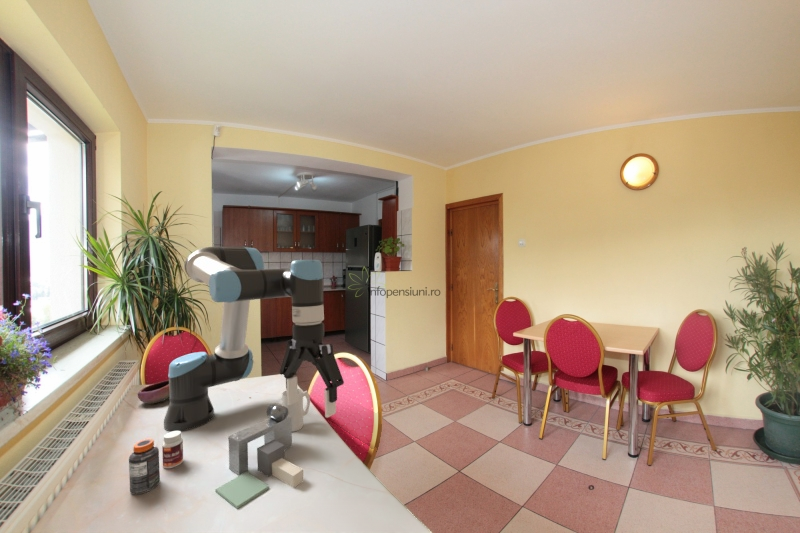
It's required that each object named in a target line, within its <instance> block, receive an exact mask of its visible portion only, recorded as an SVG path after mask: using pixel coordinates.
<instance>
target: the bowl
mask: <svg viewBox="0 0 800 533" xmlns="http://www.w3.org/2000/svg"><path fill="white" fill-rule="evenodd" d="M137 397H138V400H139V401H141V402H142V403H144V404H151V403H152V404H156V403H157V402H158V403H160V402H164V401H166V400H167V399H168V398H170V397H169V379H166V380H163V381H159V382H155V383H152V384H149V385H147V386H145V387H143V388H142V389H140V390H139V391H138V393H137ZM163 400H164V401H163Z"/></svg>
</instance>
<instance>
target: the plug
mask: <svg viewBox="0 0 800 533" xmlns="http://www.w3.org/2000/svg"><path fill="white" fill-rule="evenodd" d="M256 451H257V452H256V453H257V456H256V458H257V462H256V463H257V471H258V472H260V473H261V474H263V475H265V477H268V478H269V477H271V476H273V477H274V478H276V479H278V480H279V481H282V482H283V483H285V484H287V485H288V486H289V487H291V488H292V489H294V488H296V487H297V486H298V485H299V484H301V483H302V482H304V468H302V467H299V466H298V465H295V464H293V463H292V462H290V461H289V460H287V459H286V455H285V454H286V453H285V451H286V450H285V445H283V444H281V443H279V442H277V441H275V440H272V441H270V442H268V443H266V444H263V445H261V446H258V447H257V448H256Z"/></svg>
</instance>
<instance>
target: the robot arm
mask: <svg viewBox="0 0 800 533" xmlns="http://www.w3.org/2000/svg"><path fill="white" fill-rule="evenodd" d="M184 271H185V273H186V275H187V276H188V277H189V278H190V279H191V280H192V281H195V282H197V283H202V284H203V283H205V285H207V286H208V288H209V289H208V290H209V295H210V298H211V300H212V301H213V302H214V303H223V306H222V316H221V317H222V318H221V327H220V328H221V329H220V338H219V339H220V340H219V344H218V345H217V346H215V348H214V352H213V353H212V354H209V353H207V352H206V351H198V352H196V351H195V352H192V353H191V352H190V353H188V354H185V355H182V356H179V357H177V358H175V359H173V360H172V361H171V362H170V364H169V365H168V374H167V376H168V380H169V397H168V398H169V404H168V407H167V410H166V413H165V416H164V419H163V429H164V430H166V429H167V430H166V431H170V432H172V431H181V432H182V431H187V430H192V429H194V428H197V427H200V426H202V425H205V424H207V423H208V422H210V421H211V420H212V419H213V418H214V417H215V408H214V406H213V403H212V401H211V399H210V397H209V388H211V387H216V386H220V385H223V384H224V385H225V384H227V383H231V382H237V381H240V380H243V379H245V378H247V377H248V376H250V374H251V373H252V371H253V366H254V355H253V352H252V350H251V349H250V348H249V346H248V345H247V344H246V337H247V330H248V329H247V328H248V322H249V321H248V319H249V313H250V304H251V303H250V302H251V301H253V300H264V299H265V300H266V299H276V298H288V297H289V298H291V309H292V310H291V314H292V315H291V316H292V317H291V318H292V322H293V325H292V339H289V340H287V341H286V349H285V352H284V356H283V359H282V362H281V365H280V368H279V374H280V375H281V376H283V377H284V378H285V390H287V405H291V404H293V403H295V402H297V401H298V389H299V388H298V376H297V372H298V370H299V368H300V367H301V365H302V363H303V362H304V361H307V362H308V363H311V364H312V365H313V366H315V367H316V368H315V369H316V370H317V372H318V373H319V375H320V377H321V378H322V381H323V383H324V385H325V386H326V388H324V412H325V413H324V416H325V417H324V418H330V417H331V416H333V415H335V414H336V413H337V406H336V405H337V403H336V401H338V388H339V387H341V386H343V385H344V384H345V381H344V378H343V377H342V376H343V375H342V373H341V371H340V368H339V364H338V363H337V362H338V361H337V359H336V357H335V354H334V348H333V347H334V346H333V344H332V343H327V344H323V339H324V337H325V323H324V322H323V321H324V320H325V314H324V312H325V311H324V310H325V308H324V273H323V264H322V261H321V260H320V259H298V260H297V259H296V260H292V261H291V263H290V268H289V267H288V268H287V267H286V268H265V263H264V259H263V255H262V253H261V252H260V251H259V250H258V249H257V248H255V247H247V246H206V247H202V248H198V249H196V250H194V251H193V252H192V253H190V254H189V255H188V256H187V257H186V258H185V261H184Z"/></svg>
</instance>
